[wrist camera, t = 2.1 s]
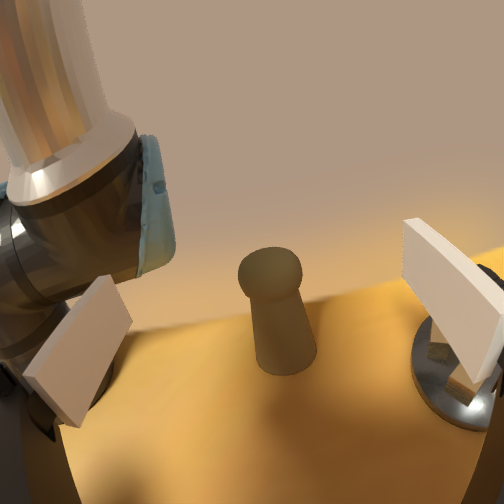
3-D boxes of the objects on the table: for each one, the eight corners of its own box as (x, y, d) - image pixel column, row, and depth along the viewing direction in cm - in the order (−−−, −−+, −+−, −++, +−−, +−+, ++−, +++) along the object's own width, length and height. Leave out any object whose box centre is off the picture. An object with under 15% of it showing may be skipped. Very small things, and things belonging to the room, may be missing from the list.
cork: (261, 333, 31) (237, 242, 27) (317, 330, 30) (305, 234, 25) (251, 376, 26) (219, 279, 21) (316, 374, 25) (303, 271, 20)
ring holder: (393, 423, 18) (399, 403, 16) (419, 301, 29) (422, 279, 28) (554, 430, 9) (572, 409, 8) (535, 310, 21) (542, 289, 19)
